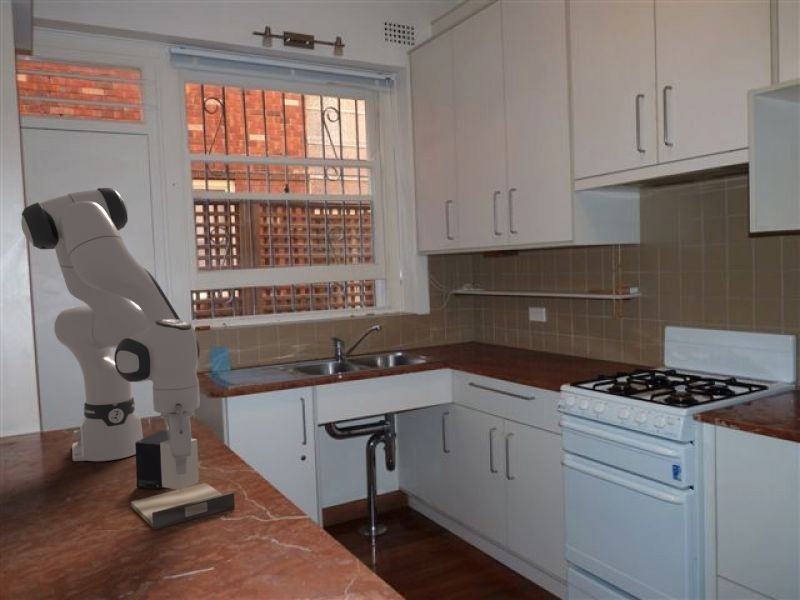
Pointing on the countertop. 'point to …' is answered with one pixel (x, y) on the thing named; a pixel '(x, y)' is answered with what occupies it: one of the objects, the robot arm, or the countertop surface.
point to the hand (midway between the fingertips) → (179, 467)
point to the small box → (149, 460)
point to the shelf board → (182, 505)
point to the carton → (169, 468)
